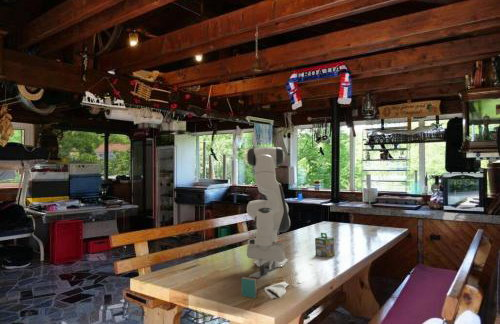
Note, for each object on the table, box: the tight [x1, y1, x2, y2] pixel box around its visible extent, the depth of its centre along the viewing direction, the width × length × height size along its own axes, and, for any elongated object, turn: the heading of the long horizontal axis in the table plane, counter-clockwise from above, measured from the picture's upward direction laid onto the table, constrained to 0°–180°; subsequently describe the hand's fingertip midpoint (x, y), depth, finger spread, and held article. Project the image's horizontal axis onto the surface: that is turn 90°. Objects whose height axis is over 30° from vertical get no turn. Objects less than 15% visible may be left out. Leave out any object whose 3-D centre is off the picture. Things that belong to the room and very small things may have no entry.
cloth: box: [263, 281, 290, 300], centre depth 169 cm, size 26×14×2 cm, turn 149°
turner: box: [248, 261, 276, 280], centre depth 174 cm, size 20×6×4 cm, turn 150°
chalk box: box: [314, 232, 336, 258], centre depth 232 cm, size 9×9×15 cm
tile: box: [241, 276, 258, 299], centre depth 162 cm, size 2×7×8 cm, turn 60°
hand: (265, 268), depth 176 cm, fingers closed on turner, 2 cm apart
